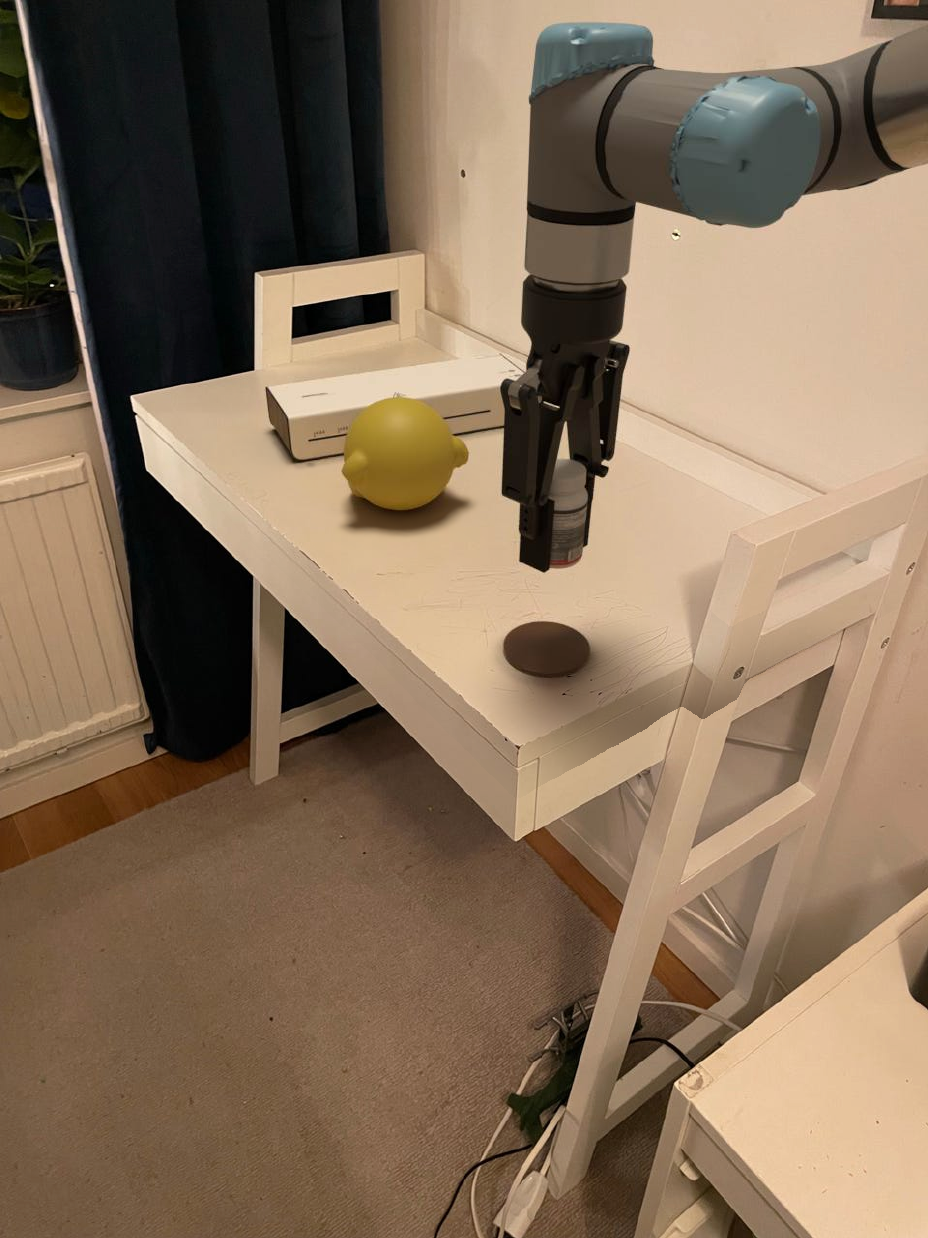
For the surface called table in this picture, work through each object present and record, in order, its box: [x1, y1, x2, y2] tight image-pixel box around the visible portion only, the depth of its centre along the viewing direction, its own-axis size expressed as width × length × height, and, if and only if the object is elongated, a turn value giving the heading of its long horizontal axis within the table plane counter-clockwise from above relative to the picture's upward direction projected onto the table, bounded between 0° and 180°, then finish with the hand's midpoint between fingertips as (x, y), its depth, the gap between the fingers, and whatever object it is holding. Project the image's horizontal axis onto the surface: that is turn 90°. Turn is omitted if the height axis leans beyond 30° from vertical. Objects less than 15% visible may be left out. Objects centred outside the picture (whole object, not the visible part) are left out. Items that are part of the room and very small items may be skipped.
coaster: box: [502, 620, 591, 678], centre depth 87 cm, size 8×8×1 cm
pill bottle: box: [548, 457, 588, 570], centre depth 78 cm, size 5×5×8 cm
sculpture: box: [341, 397, 470, 511], centre depth 106 cm, size 15×13×13 cm
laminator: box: [264, 352, 526, 462], centre depth 126 cm, size 34×12×6 cm, turn 113°
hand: (553, 552), depth 81 cm, fingers closed on pill bottle, 5 cm apart
